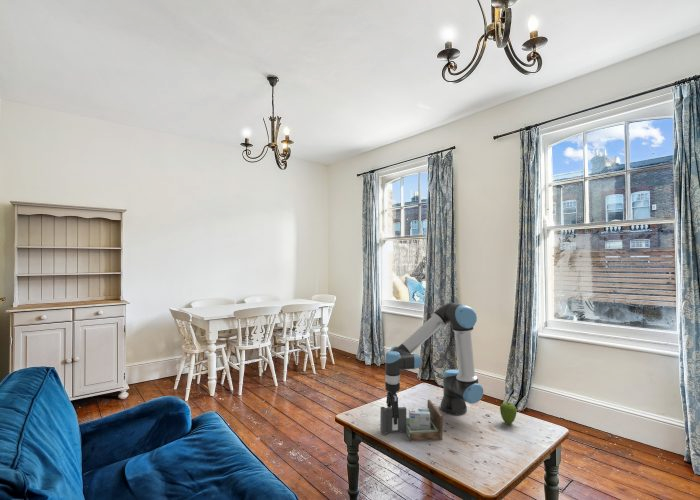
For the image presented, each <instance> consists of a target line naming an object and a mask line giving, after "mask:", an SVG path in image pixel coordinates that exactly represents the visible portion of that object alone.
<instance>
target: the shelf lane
mask: <svg viewBox="0 0 700 500" xmlns="http://www.w3.org/2000/svg"><path fill="white" fill-rule="evenodd" d="M427 409H429V412H430V420H431V421H432V422H433V424H434V425H435V427H436V428H437V429H438V432H433V433H413V434H410V438H409V439H410V442H416V441H417V442H419V441H433V440H435V441H436V440H439V441H440V440H443V430H444V429H443V423H444V422H443V417H444V416H443V414H442V413H441V412H440V411H439V410H438V409H439V408H437V407H436V405H434V403H433V402H432V401H431V400H430V399H427Z"/></svg>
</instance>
